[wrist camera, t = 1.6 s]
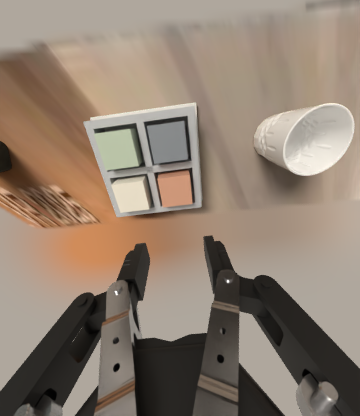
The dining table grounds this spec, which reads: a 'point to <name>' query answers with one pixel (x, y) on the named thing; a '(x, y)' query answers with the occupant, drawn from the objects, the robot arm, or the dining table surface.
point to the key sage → (119, 148)
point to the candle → (4, 158)
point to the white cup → (306, 138)
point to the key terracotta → (175, 188)
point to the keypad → (147, 166)
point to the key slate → (168, 142)
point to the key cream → (132, 193)
